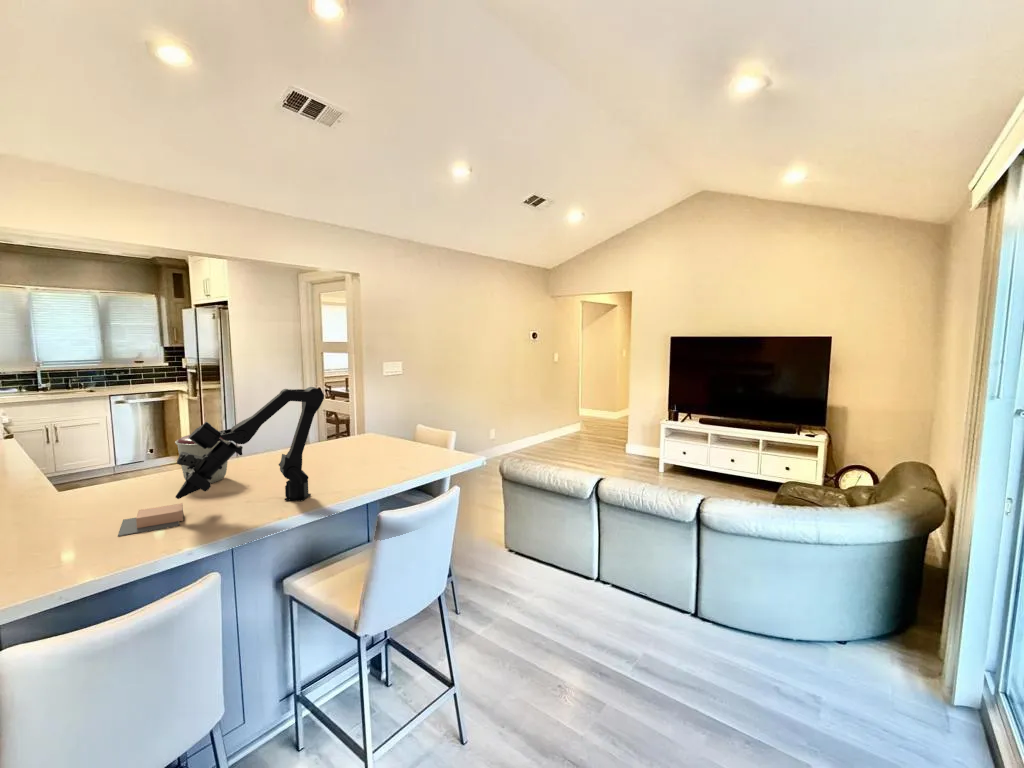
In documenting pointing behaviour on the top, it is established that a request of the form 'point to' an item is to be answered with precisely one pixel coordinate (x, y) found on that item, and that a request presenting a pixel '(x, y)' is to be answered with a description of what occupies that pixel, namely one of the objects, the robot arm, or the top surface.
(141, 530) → the mat
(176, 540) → the top surface
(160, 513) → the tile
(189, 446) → the canister
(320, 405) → the robot arm
